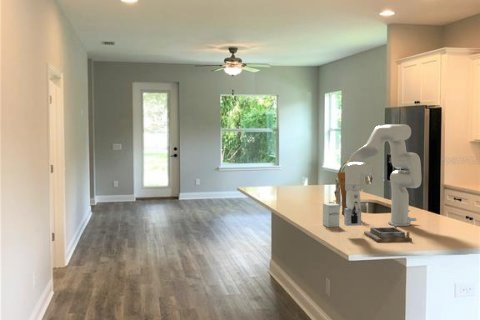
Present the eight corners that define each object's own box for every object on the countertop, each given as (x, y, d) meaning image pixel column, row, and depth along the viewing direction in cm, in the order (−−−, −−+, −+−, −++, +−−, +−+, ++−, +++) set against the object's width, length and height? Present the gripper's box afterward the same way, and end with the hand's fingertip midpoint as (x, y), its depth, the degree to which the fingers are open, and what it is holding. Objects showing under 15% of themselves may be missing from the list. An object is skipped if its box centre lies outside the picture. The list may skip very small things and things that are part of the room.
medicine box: (358, 223, 256) (359, 207, 255) (361, 225, 251) (361, 209, 251) (344, 224, 256) (344, 208, 255) (346, 226, 251) (346, 209, 251)
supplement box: (327, 227, 276) (328, 205, 276) (322, 224, 284) (322, 203, 283) (339, 226, 278) (340, 204, 278) (333, 224, 286) (334, 202, 285)
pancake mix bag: (349, 218, 305) (350, 173, 303) (335, 213, 323) (336, 170, 321) (359, 217, 306) (359, 173, 305) (345, 212, 325) (345, 170, 323)
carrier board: (396, 233, 260) (396, 225, 260) (411, 241, 242) (412, 232, 242) (363, 234, 258) (364, 225, 258) (376, 242, 240) (376, 233, 240)
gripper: (365, 189, 244) (365, 225, 245) (354, 185, 261) (354, 218, 262) (350, 190, 243) (350, 226, 245) (340, 185, 260) (340, 219, 262)
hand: (352, 221), depth 253 cm, fingers closed on medicine box, 4 cm apart
